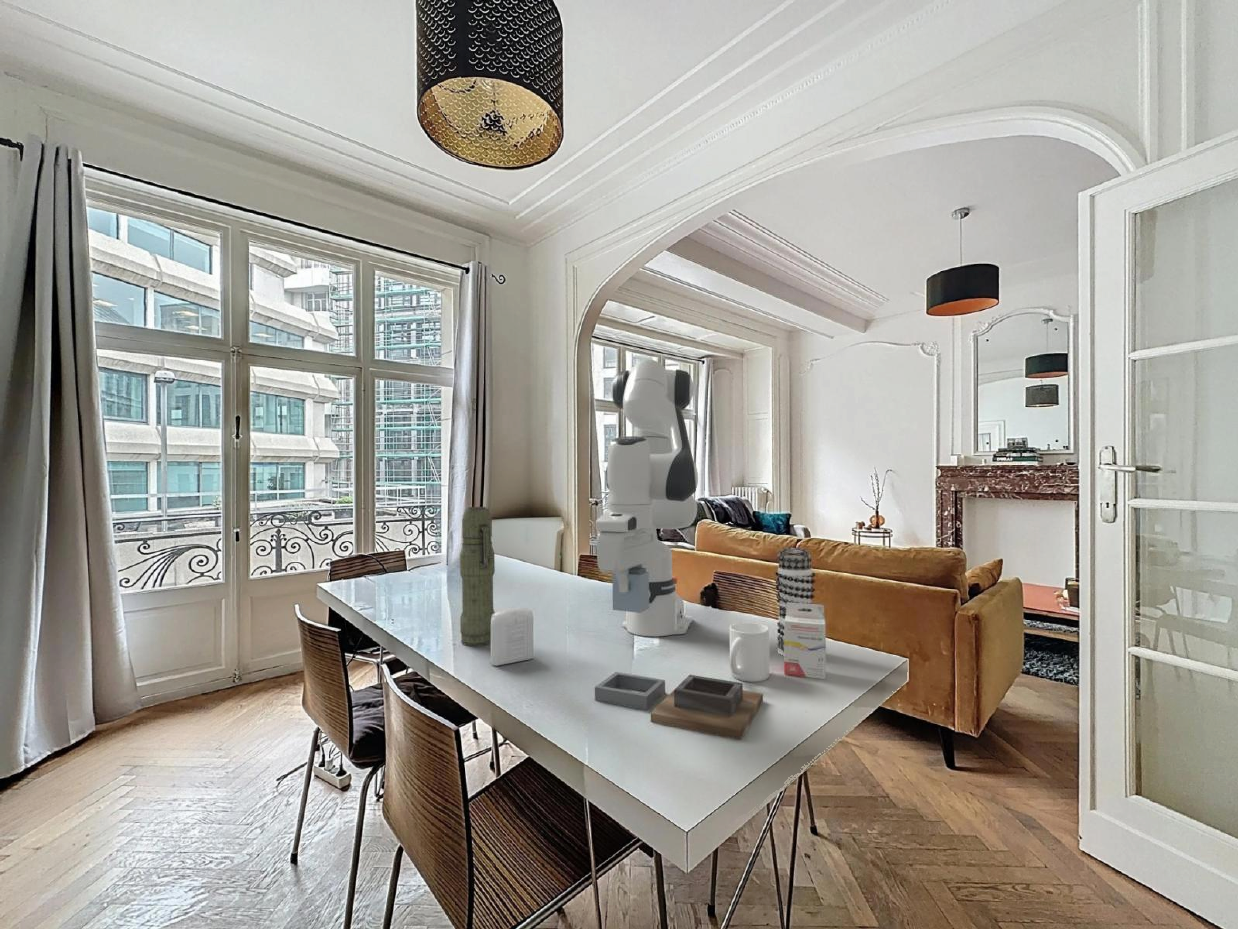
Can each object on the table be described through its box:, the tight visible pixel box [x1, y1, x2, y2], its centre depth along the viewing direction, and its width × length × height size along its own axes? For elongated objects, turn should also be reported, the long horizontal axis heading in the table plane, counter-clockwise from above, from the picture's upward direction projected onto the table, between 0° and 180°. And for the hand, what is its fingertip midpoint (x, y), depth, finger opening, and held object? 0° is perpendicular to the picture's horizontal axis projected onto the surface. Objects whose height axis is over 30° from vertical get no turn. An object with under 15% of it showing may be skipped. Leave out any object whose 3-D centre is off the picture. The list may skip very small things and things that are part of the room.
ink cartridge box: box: [783, 602, 827, 680], centre depth 123 cm, size 9×5×15 cm, turn 71°
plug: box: [611, 567, 649, 613], centre depth 111 cm, size 4×6×8 cm, turn 63°
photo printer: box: [490, 606, 534, 666], centre depth 133 cm, size 10×4×12 cm, turn 123°
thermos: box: [459, 506, 496, 647], centre depth 149 cm, size 9×12×35 cm
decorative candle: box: [775, 547, 816, 657], centre depth 136 cm, size 9×9×25 cm
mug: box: [729, 622, 771, 683], centre depth 120 cm, size 12×8×10 cm
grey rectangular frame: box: [594, 671, 666, 711], centre depth 112 cm, size 9×11×2 cm
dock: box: [650, 674, 764, 741], centre depth 104 cm, size 17×16×4 cm
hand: (630, 589), depth 111 cm, fingers closed on plug, 4 cm apart
